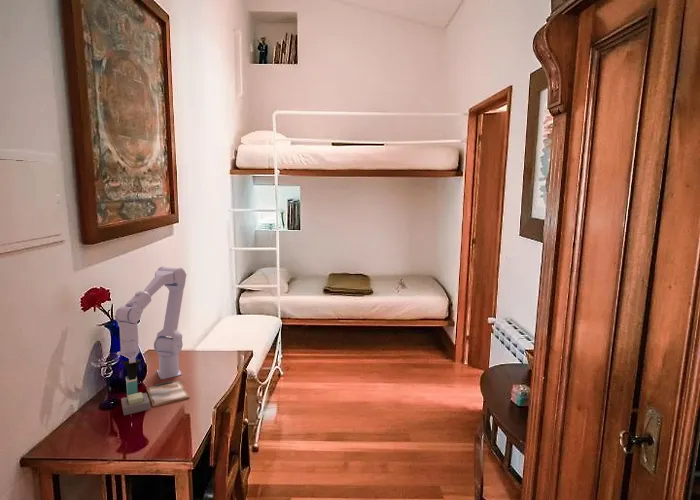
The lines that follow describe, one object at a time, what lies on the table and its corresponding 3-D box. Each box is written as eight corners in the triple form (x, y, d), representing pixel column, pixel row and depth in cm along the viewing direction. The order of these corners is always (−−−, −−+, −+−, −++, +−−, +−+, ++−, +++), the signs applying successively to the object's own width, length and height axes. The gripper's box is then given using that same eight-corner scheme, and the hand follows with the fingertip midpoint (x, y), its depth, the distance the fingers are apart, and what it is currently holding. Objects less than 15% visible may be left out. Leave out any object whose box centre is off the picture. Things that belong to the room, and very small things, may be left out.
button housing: (121, 405, 146) (121, 398, 146) (146, 399, 151) (146, 392, 150) (123, 415, 140) (123, 408, 139) (150, 409, 144) (149, 401, 144)
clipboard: (146, 389, 159) (146, 386, 158) (179, 381, 165) (179, 378, 165) (153, 407, 145) (152, 403, 145) (189, 398, 152) (189, 395, 152)
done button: (127, 402, 146) (127, 395, 145) (141, 399, 148) (141, 392, 148) (129, 407, 142) (128, 400, 142) (143, 404, 144) (143, 397, 144)
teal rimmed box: (126, 394, 154) (125, 376, 153) (136, 392, 156) (135, 374, 155) (127, 398, 151) (126, 380, 150) (137, 396, 153) (137, 378, 152)
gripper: (114, 335, 154) (116, 370, 156) (118, 347, 142) (120, 385, 144) (136, 332, 158) (137, 366, 160) (141, 343, 146) (143, 380, 148)
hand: (131, 375), depth 152 cm, fingers open, 7 cm apart
